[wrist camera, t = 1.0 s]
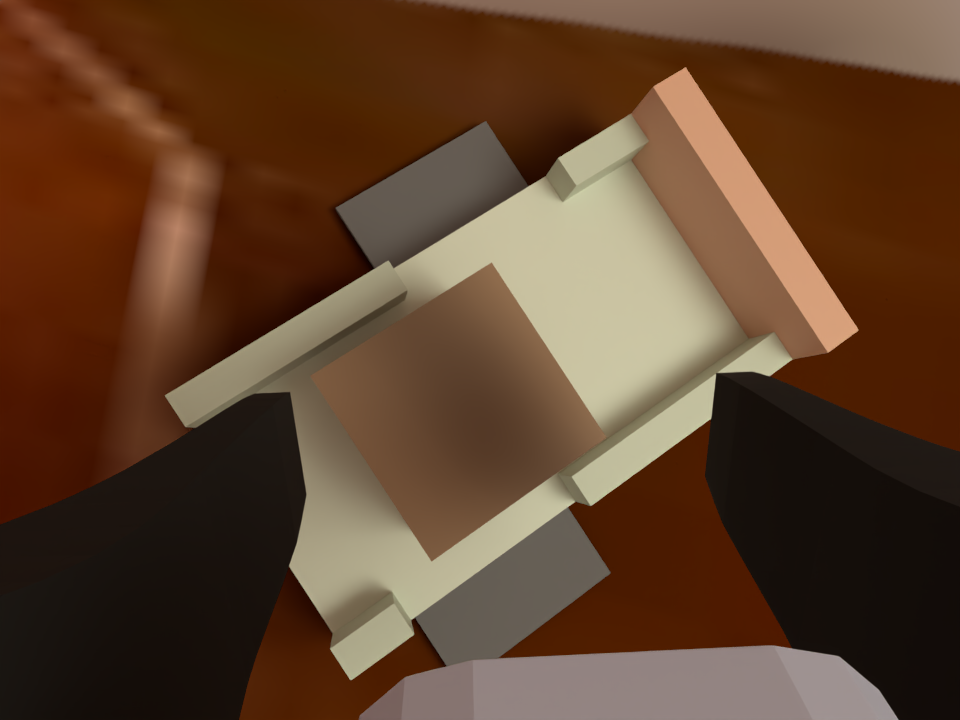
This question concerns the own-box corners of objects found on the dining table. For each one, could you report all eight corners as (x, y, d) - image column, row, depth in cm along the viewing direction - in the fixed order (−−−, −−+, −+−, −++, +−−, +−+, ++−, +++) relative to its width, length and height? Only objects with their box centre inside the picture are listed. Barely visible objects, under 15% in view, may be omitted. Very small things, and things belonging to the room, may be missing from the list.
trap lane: (353, 642, 22) (349, 704, 17) (196, 401, 22) (145, 391, 17) (759, 351, 25) (858, 330, 20) (621, 141, 25) (685, 67, 20)
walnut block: (416, 532, 21) (431, 561, 16) (323, 390, 21) (310, 375, 16) (552, 437, 22) (606, 437, 17) (464, 301, 22) (491, 262, 17)
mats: (458, 683, 23) (460, 686, 22) (201, 288, 23) (199, 286, 22) (721, 485, 25) (725, 486, 24) (484, 125, 25) (485, 121, 24)
